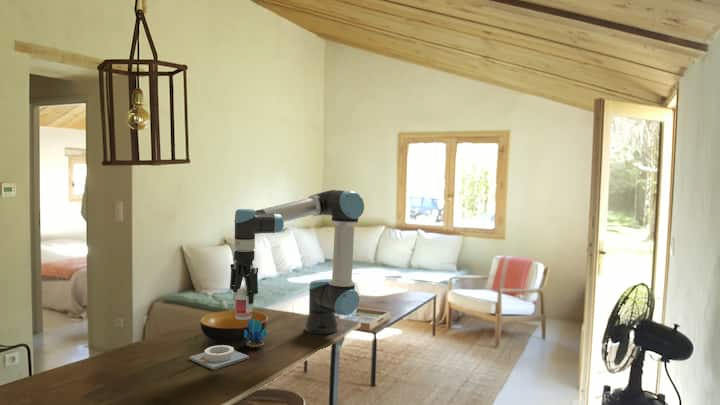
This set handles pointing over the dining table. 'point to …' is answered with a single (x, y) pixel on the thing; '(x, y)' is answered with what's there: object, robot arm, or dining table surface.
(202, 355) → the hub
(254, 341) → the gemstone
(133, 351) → the dining table surface
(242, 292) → the pill bottle
